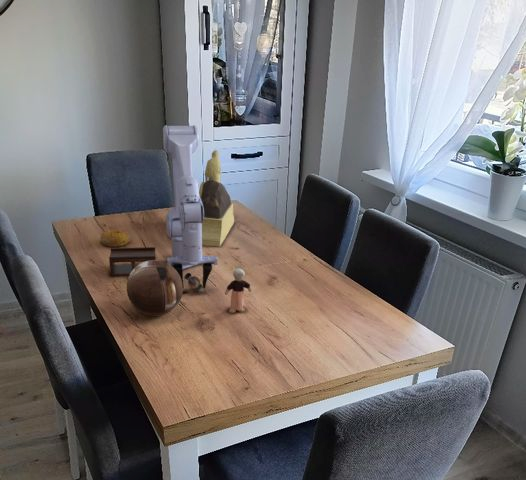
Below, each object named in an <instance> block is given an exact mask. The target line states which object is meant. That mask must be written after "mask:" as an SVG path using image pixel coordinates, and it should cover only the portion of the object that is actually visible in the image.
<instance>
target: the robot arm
mask: <svg viewBox="0 0 526 480" xmlns="http://www.w3.org/2000/svg"><path fill="white" fill-rule="evenodd" d="M199 140H200V139H199V129H198V127H197V126H196V125H195V124H194V125H166V124H165V125H164V126H163V128H162V141H163V150H164V152H165V153H166V154H169V155H170V158H171V160H172V161H171V162H172V178H173V179H172V181H173V199H174V202H173V203H174V206H173V208H171V209H170V210H169V211H168V212H167V213H166V215H165V216H166V221H165V226H166V235H167V237H168V238H169V239H171V257H169V256H168V257H167V259H166V263H168V264H169V265H171V266H172V267H173V268H174V269H175V270H176V271H177V272H178V274H179V275H180V277H181V280H182V284H183V290H184V289H185V286H184V285H185V284H184V269H188V268H191V267H194V266H198V265H202V288H203V289H206V285H207V282H208V279H209V276H210V275H211V272H212V270H213V265H214V266H218V264H219V263H218V256H213V255H203V245H202V223H201V221H202V222H203V221H204V208H203V204H202V201H201V198H200V196H199V189H200V187H199V183H198V182H199V181H198V180H197V178H195V177H194V174H193V173H194V171H193V169H194V168H193V154H194V153H195V152H197V148H198V147H199V142H200V141H199Z"/></svg>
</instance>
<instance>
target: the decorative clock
mask: <svg viewBox="0 0 526 480" xmlns="http://www.w3.org/2000/svg"><path fill="white" fill-rule="evenodd" d="M221 164H222V163H221V161H220V152H219V151H218V150H213V151H212V152H211V158H210V159H208V160H207V162H206V164H205V165H206V166H205V170H204V180H205V181H202V182H201V183H200V186H199V196H200V198H201V201H202V204H203V208H204V221H203V222H202V221H201V223H202V246H207V247H218V248H219V247H221V246H222V244H223V242H224V240H225V239H226V237H227V236H228V234H229V232H230V230H231V229H232V227H233V225H234V224H235V215H234V202H232V200H231V196H230V194H229V193H228V191H227V189H226V187H225V186H224V185H223V183H221V175H222V174H221V173H222V172H221V171H222V169H221V167H222V165H221Z"/></svg>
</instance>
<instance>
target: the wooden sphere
mask: <svg viewBox="0 0 526 480" xmlns="http://www.w3.org/2000/svg"><path fill="white" fill-rule="evenodd" d="M138 264H139V265H138V266H136V267H135V268H134V269H133V270H132V272H131V273H130V275H129V276H127V277H128V278H127V281H126V293H127V294H126V295H127V298H128V300H129V302H130V303H131V304H132V306H133V307H134V308H135V309H136V310H138V311H139V312H140V313H143V314H144V315H148V316H155V317H156V316H157V317H158V316H162V315H163V316H164V315H166V314H169V313H170V312H171V311H173V310H174V309H175V308H176V307H177V306H178V305H179V303H180V301H181V299H182V298H183V297H182V296H183V292H184V289H183V284H184V283H183V284H182V280H181V277H180V275H179V274H178V272H177V271H176V270H175V269H174V266H173V265H172V266H171V265H169V264H168V263H167V261H166V262H165V261H162V260H158V259H156V260H150V261H145V262H140V263H138Z"/></svg>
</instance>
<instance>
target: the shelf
mask: <svg viewBox="0 0 526 480" xmlns="http://www.w3.org/2000/svg"><path fill="white" fill-rule="evenodd" d="M156 256H157V255H156V247H155V246H148V247H147V246H144V247H143V246H142V247H137V246H136V247H110V253H109V256H108V262H109V268H110V269H109V271H110V277H129V275H130V273H131V272H132V270H133V269H134V268H135V267H136V266H138V265H139V264H140V263H143V262H145V261H150V260H157V258H156ZM118 263H119V264H118Z"/></svg>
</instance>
